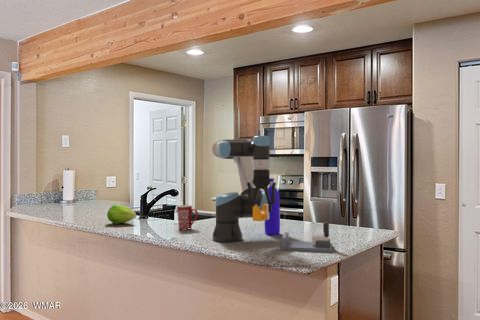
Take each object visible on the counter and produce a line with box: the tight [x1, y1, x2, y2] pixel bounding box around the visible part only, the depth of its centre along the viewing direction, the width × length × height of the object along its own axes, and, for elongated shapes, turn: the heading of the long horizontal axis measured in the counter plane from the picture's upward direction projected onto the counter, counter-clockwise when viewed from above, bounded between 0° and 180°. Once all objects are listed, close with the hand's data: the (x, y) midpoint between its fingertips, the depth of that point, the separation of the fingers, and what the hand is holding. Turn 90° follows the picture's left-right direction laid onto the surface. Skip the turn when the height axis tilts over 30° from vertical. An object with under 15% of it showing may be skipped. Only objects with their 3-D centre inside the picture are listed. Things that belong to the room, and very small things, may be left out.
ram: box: [311, 221, 330, 246], centre depth 176 cm, size 7×5×10 cm, turn 76°
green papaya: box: [106, 204, 137, 225], centre depth 249 cm, size 14×20×12 cm
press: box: [280, 232, 333, 254], centre depth 177 cm, size 22×13×6 cm, turn 76°
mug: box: [176, 204, 199, 230], centre depth 228 cm, size 13×9×14 cm
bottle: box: [264, 177, 281, 236], centre depth 211 cm, size 8×8×30 cm
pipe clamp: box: [252, 204, 268, 222], centre depth 183 cm, size 12×4×6 cm, turn 150°
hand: (262, 218), depth 182 cm, fingers closed on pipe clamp, 5 cm apart
